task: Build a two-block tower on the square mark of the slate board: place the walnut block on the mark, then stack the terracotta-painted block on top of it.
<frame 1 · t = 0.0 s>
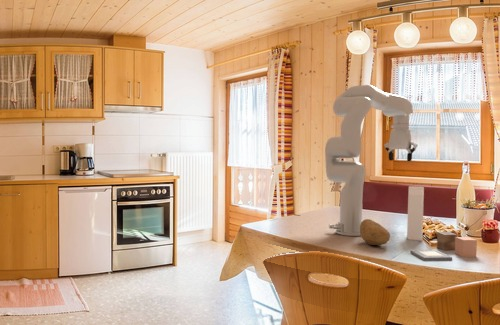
hand: (400, 160, 223), 31 cm above the table, tool pointing down, fingers open, 9 cm apart
walnut block: (446, 249, 166), on the table
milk: (414, 239, 183), on the table
slate board: (430, 256, 154), on the table
terracotta block: (465, 255, 157), on the table
potato: (373, 245, 171), on the table
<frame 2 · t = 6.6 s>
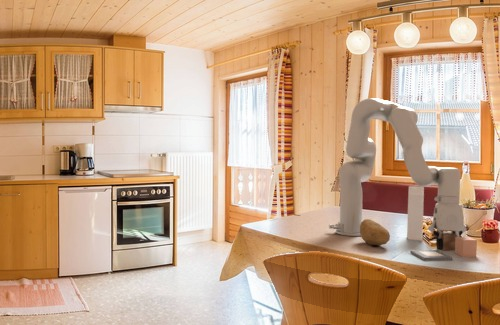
hand: (446, 247, 166), 0 cm above the table, tool pointing down, fingers closed on walnut block, 5 cm apart
walnut block: (446, 248, 166), on the table, touching gripper
everything else where it was.
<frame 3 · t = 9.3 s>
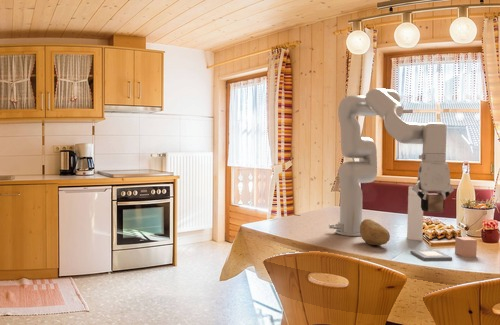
hand: (432, 209, 153), 16 cm above the table, tool pointing down, fingers closed on walnut block, 5 cm apart
walnut block: (432, 211, 153), point 16 cm above the table, touching gripper
everything else where it was.
when the fingers open (3 cm above the table, at t = 12.0 s): walnut block drops 1 cm, resting on slate board.
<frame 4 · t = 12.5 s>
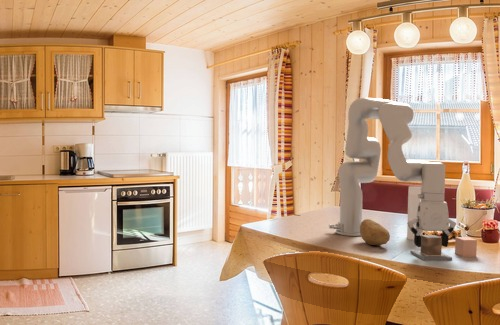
hand: (431, 246, 154), 4 cm above the table, tool pointing down, fingers open, 9 cm apart
walnut block: (430, 253, 154), point 1 cm above the table, touching slate board
everything else where it was.
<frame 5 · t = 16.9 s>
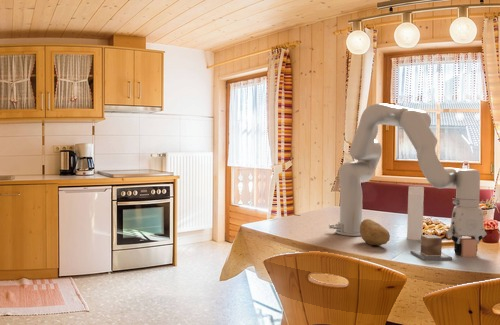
hand: (465, 253, 157), 0 cm above the table, tool pointing down, fingers closed on terracotta block, 5 cm apart
terracotta block: (465, 254, 157), on the table, touching gripper
everything else where it was.
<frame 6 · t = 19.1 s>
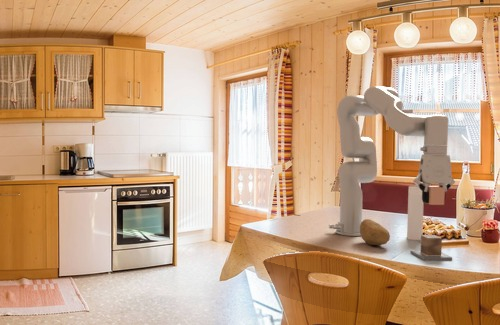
hand: (433, 202, 153), 19 cm above the table, tool pointing down, fingers closed on terracotta block, 5 cm apart
terracotta block: (433, 203, 153), point 19 cm above the table, touching gripper
everything else where it was.
when the fingers open (9 cm above the table, at t = 21.5 s): terracotta block drops 1 cm, resting on walnut block.
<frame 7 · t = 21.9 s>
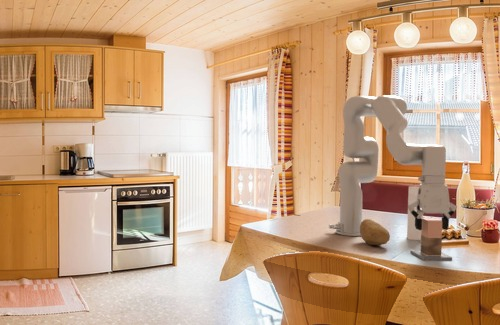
hand: (431, 229, 153), 10 cm above the table, tool pointing down, fingers open, 9 cm apart
walnut block: (430, 253, 154), point 1 cm above the table, touching slate board, terracotta block
terracotta block: (431, 236, 154), point 7 cm above the table, touching walnut block
everything else where it was.
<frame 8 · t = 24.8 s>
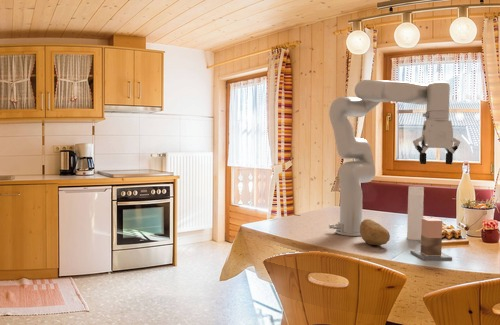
hand: (435, 164, 159), 32 cm above the table, tool pointing down, fingers open, 9 cm apart
nothing on the table moved.
at the end: walnut block 0.0 cm off-centre on the slate board, point 1.1 cm above the slate board's base; terracotta block 0.0 cm off-centre on the walnut block, point 6.0 cm above the walnut block's base; terracotta block tilted 0° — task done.
